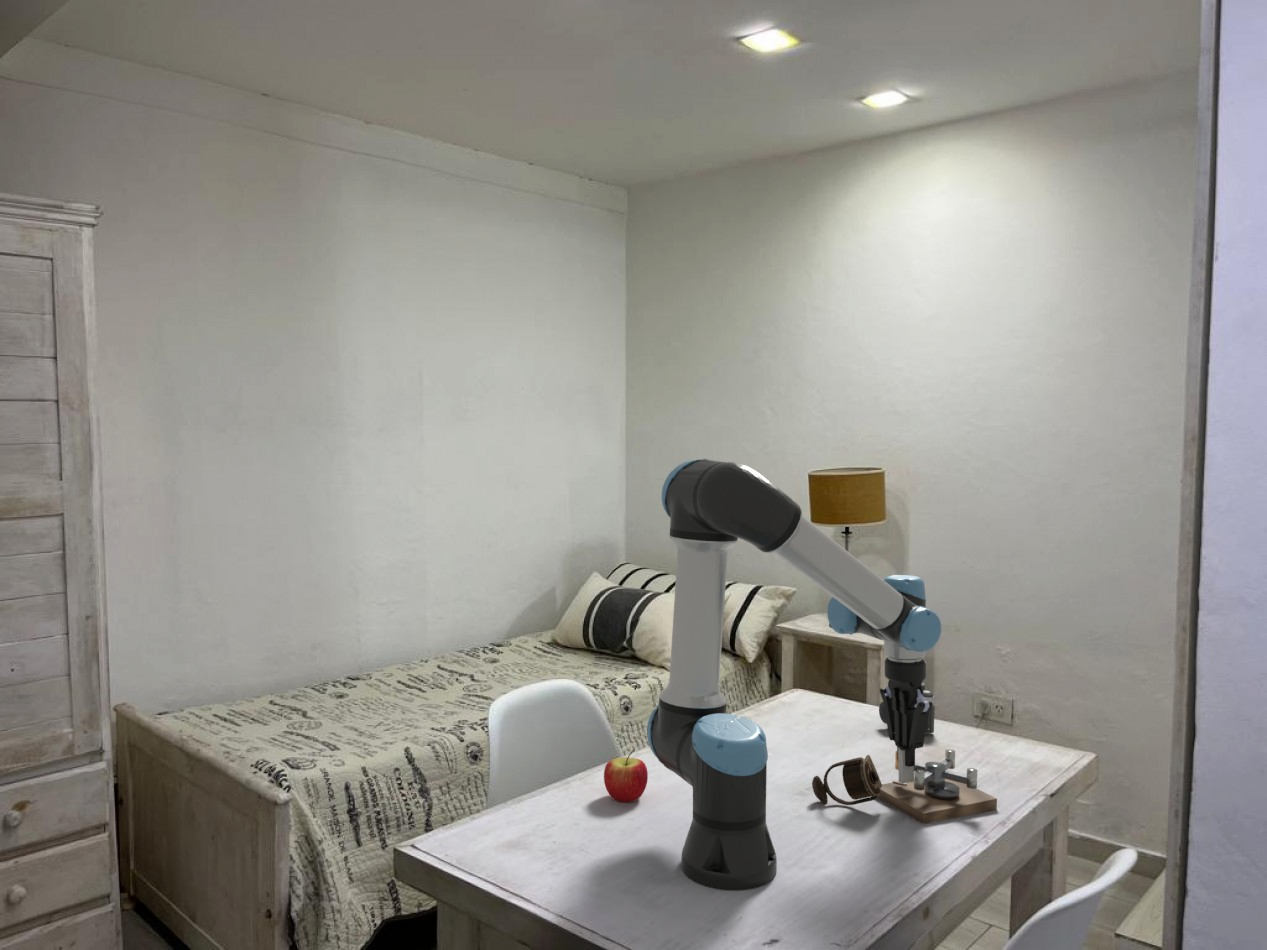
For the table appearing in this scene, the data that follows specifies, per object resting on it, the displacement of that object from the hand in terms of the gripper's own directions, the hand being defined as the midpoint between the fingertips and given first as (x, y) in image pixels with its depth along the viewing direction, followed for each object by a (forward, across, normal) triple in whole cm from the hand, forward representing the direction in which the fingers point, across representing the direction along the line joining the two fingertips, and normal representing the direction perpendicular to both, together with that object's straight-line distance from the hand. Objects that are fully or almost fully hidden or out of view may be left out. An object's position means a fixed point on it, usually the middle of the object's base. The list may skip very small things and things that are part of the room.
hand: (906, 781), depth 184 cm
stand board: (+4, -3, -4) cm, 6 cm away
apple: (+3, +20, +49) cm, 53 cm away
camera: (+3, +37, -28) cm, 46 cm away
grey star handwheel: (+2, -3, -4) cm, 5 cm away
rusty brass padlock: (+4, +1, +13) cm, 14 cm away
